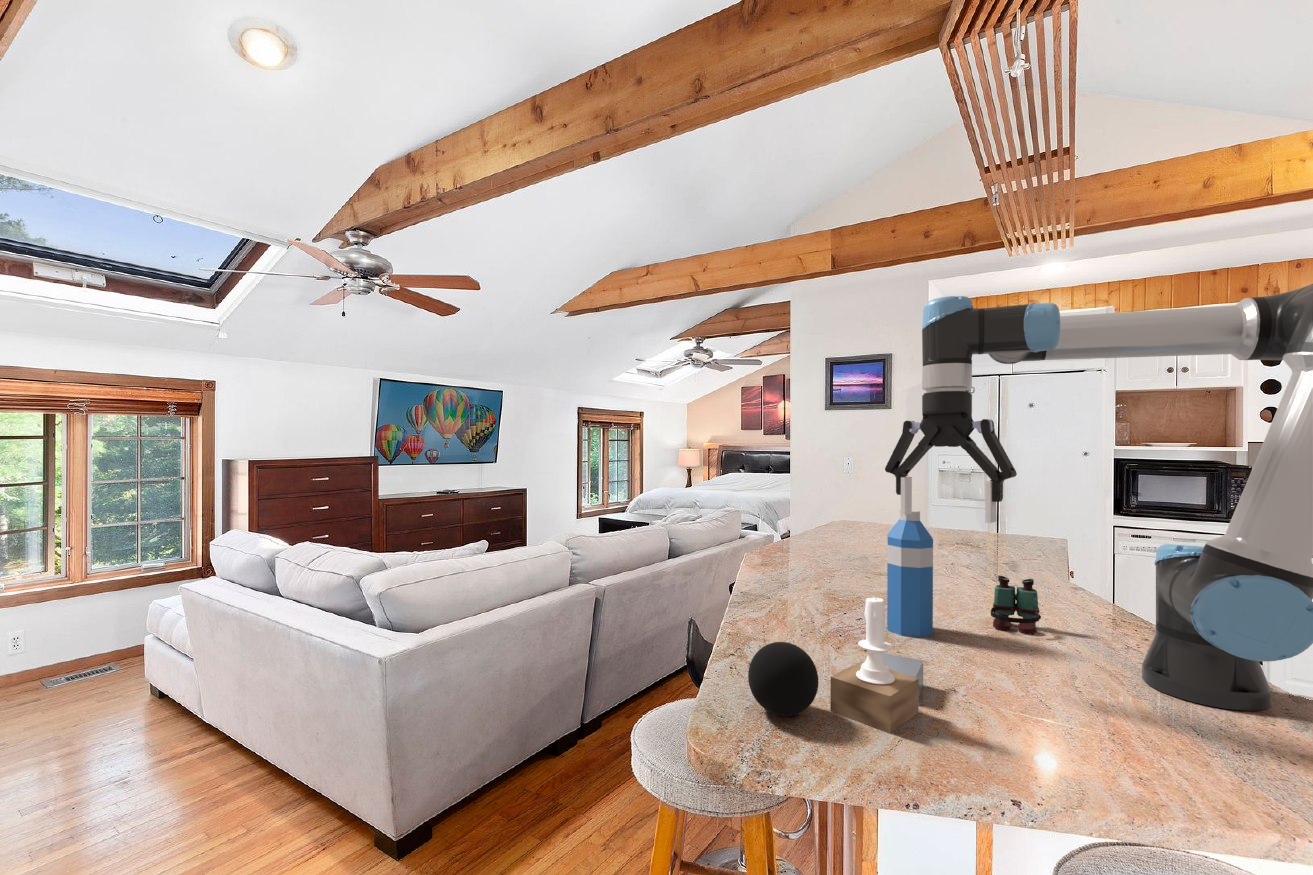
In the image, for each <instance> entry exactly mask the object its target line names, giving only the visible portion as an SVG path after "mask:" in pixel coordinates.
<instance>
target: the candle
mask: <svg viewBox="0 0 1313 875" xmlns="http://www.w3.org/2000/svg"><path fill="white" fill-rule="evenodd" d="M885 605H886V604H885V600H884V599H883V598H881V597H880V598H879V597H877V596H875V595H873V594H872V597H867V598H865V609H864V614H863V615H864V618H865V639H861V640H859V641H858V643H857V644H858V646H859V647H860V648H862V649H864V650H865V651H867V652H868V655H867V657H866V658H865V660H866V661H865V660H864V661H865V663H863V664H862V665H861V670H859V671H857V673H856V676H857V677H858V678H859V679H860V680H862V681H865V682H868V683H872V684H879V685H885V684H891V683H893V682H894V681H895V678H894V676H893V675H891V674H890V670H889V667H888V666H886V664H885V662H884V660H883V657H882V653H888V651H891V650H892V649H893V644H891V643H889V642H887V641H886V640H885V639H886V637H885V636H886V635H885V632H886V630H885V628H886V627H885V626H886V624H885V623H886V620H885V619H886V614H885V613H886V610H885V609H886V608H885Z"/></svg>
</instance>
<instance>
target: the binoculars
mask: <svg viewBox="0 0 1313 875" xmlns="http://www.w3.org/2000/svg"><path fill="white" fill-rule="evenodd" d="M997 576H998V577H997V581H998V582H999V584H997V585H995V586H994V594H993V596H994V597H993V604H992V607H991V609H990V616H991V617H992V618H994V619H993V622H992V627H993V628H995V629H996V630H998V631H1002V632H1008V631H1011V628H1012V623H1015V624H1016V623H1017V630H1018V632H1019V633H1020V634H1023V635H1033V634H1037V625H1036V624H1037V622H1039V621H1040V620H1041V619H1042V616H1041V614H1040V607H1039V597H1038V591H1037V589H1034V588H1033V586H1034V584H1035V582H1034V579H1033V578H1027V579H1023V580H1021V584H1022V585H1023V586H1017V587H1015V586H1014V585H1009V583H1010V579H1009V578H1008V577H1006V576H1005V575H1004V576H1003V575H997ZM1015 612H1016V615H1017V616H1018V617H1011V616H1014V615H1015Z"/></svg>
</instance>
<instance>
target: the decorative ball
mask: <svg viewBox="0 0 1313 875" xmlns="http://www.w3.org/2000/svg"><path fill="white" fill-rule="evenodd" d="M747 677H748V678H747V680H748V685H749V689H750V692H751V694H752V696H753V698H754V699H755V701H756V702H757V703H758V704H759V705H760V706H761V707H762V708H763V709H764V710H766V711H768V712H770V714H773V715H776V716H782V717H793V716H795V715H798V714H800V713H801V714H802V712H804V711H806V710H807V709H808V708H809V707H810V706H811V705H812V703H813V702H814V701H815V699H816V696H817V694H818V690H819V674H818V670H817V667H816V664H815V662H814V661H813V659H812V658H811V656H810V655H809V654H808V653H807V652H806V651H805V650H804V649H803V648H801V647H800V646H797V644H793V643H790V642H787V641H774V642H771V643H768V644H766V645H764V646H763V647H761V648H760V649H758V650H757V652H756V653H755V654H754V656H753V657H752V659H751V661H750V663H749V666H748V672H747Z"/></svg>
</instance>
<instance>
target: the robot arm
mask: <svg viewBox="0 0 1313 875" xmlns="http://www.w3.org/2000/svg"><path fill="white" fill-rule="evenodd" d="M922 310H923V311H922V325H921V326H922V327H921V339H922V340H921V344H922V345H921V347H922V349H921V350H922V353H921V354H922V369H921V370H922V371H921V372H922V374H921V376H922V379H921V380H922V382H921V386H922V387H921V389H922V390H923V391H925V392H924V393H923V394H922V396H921V398H922V399H921V410H922V411H921V414H922V418H921V421H920V422H919V421H918V422H916V421H915V420H905V421H903V424H902V433H901V435H900V436H899V439H898V441H897V443H896V445H895V446H894V449H893V451H892V453H891V456H890V457H889V459H888V461H887V463H886V466H885V467H884V470H885V472H886V473H889V474H892V475H894V476H895V493H896V495H897V496H898V495H899V496H900V510H901V515H907V514H912V510H913V509H912V508H913V505H912V504H913V503H912V502H913V500H912V498H913V496H912V495H913V494H912V491H913V489H912V488H913V484H912V483H913V482H912V481H913V477H912V476H909V473H911V471H912V470H913V469H914V468H915V466H917V464H918V463H919V462H920V461H921V459H923V457H924V456H925V455H926V454H927V453H928V451H929V450H930V449H932V448H935V447H936V448H939V447H940V448H941V447H943V448H944V447H948V448H951V447H952V448H958V447H961V448H962V449H963V450H964V451H965V452H966V453H967V454H968V456H970V457H971V458H972V460H973V461H974V462H975V463H976V464H977V465H978V467H979V468H980V469H981V470H982V471H983V472H984V473H985V474H986V475H987V477H988V478H989V479H990V480H988V481H984V482H985V484H984V486H985V488H984V490H985V492H984V494H985V496H984V498H985V500H984V501H985V502H984V504H985V505H984V506H985V507H984V511H985V512H984V513H985V515H984V517H985V518H984V519H985V521H984V522H985V524H992V523H995V522H997V503H999V502H1002V501H1003V499H1004V481H1005V480H1008V479H1012V478H1015V477H1016V476H1017V473H1018V472H1017V471H1016V470H1017V469H1015V467H1014V465H1013V463H1012V461H1011V460H1010V458H1009V455H1008V454H1007V452H1006V451H1005V449H1004V447H1003V445H1002V443H1001V441H1000V439H999V438H998V436H997V434H996V432H995V431H996V430H995V422H994V420H992V419H990V418H989V419H988V418H987V419H986V418H982V419H981V420H977V421H976V420H975V421H974V420H973V416H972V414H973V393H971V391H968V390H970V389H972V388H973V387H972V386H973V355H989V357H990V358H991V359H992V360H994V361H995V362H996V363H1000V364H1003V365H1012V364H1013V365H1014V364H1015V365H1016V364H1018V363H1020V362H1021V363H1022V362H1037V361H1061V360H1063V361H1064V360H1066V361H1067V360H1088V359H1094V360H1096V359H1120V358H1153V357H1155V358H1156V357H1157V358H1158V357H1182V356H1186V357H1187V356H1188V357H1189V356H1211V355H1212V356H1215V355H1216V356H1217V355H1232V356H1233V357H1234V358H1236V359H1237V360H1238V361H1284V362H1285V364H1286V365H1287V366H1288V368H1290V370H1291V375H1290V378H1289V380H1288V383H1287V385H1286V388H1285V390H1284V393H1283V394H1282V398H1281V400H1280V402H1279V405H1278V407H1277V409H1276V410H1275V411H1276V412H1275V414H1274V417H1273V419H1272V421H1271V424H1270V426H1269V428H1268V430H1267V433H1266V436H1265V438H1264V440H1263V443H1262V445H1261V447H1260V449H1259V453H1258V454H1257V457H1256V460H1255V462H1254V464H1253V467H1252V469H1251V471H1250V474H1249V476H1248V479H1247V481H1246V484H1245V485H1244V488H1243V491H1242V493H1241V495H1240V498H1239V500H1238V502H1237V505H1236V508H1235V510H1234V512H1233V515H1232V517H1231V519H1230V521H1229V524H1228V526H1227V529H1226V531H1225V533H1224V534H1223V535H1221V536H1219V537H1216V538H1213V539H1210V540H1207V541H1205V544H1204V546H1197V545H1187V544H1186V545H1184V544H1167V543H1166V544H1162V545H1160V546H1158V547H1157V549H1156V557H1155V560H1154V566H1155V635H1154V637H1153V639H1152V641H1151V644H1150V646H1149V648H1148V651H1147V653H1146V655H1145V657H1144V659H1143V661H1142V665H1141V678H1142V680H1143V681H1144V683H1146V684H1147V685H1149V686H1150V687H1152V688H1154V689H1155V690H1157V691H1160V692H1162V693H1163V694H1167V695H1170V696H1172V697H1175V698H1178V699H1181V700H1185V701H1188V702H1190V703H1191V702H1192V703H1196V704H1201V705H1204V706H1209V707H1213V708H1214V707H1215V708H1218V709H1219V708H1221V709H1227V710H1234V711H1246V712H1247V711H1248V712H1249V711H1250V712H1251V711H1254V712H1255V711H1263V710H1267V709H1269V708H1270V707H1271V706H1272V690H1271V687H1270V685H1269V683H1268V679H1267V677H1266V675H1265V673H1264V670H1263V668H1262V665H1261V663H1260V662H1276V661H1282V660H1287V659H1291V658H1294V657H1296V656H1298V655H1300V654H1302V653H1303V652H1305V651H1306V650H1307V649H1309V648H1310V647H1311V646H1312V645H1313V560H1312V558H1313V283H1311V284H1308V285H1306V286H1303V287H1300V288H1297V289H1294V290H1290V291H1287V292H1281V293H1277V294H1272V295H1265V296H1257V297H1256V296H1255V297H1244V298H1243V299H1241V300H1240V301H1239V302H1238V303H1236V304H1235V305H1220V306H1219V305H1218V306H1205V307H1203V306H1202V307H1187V308H1174V309H1173V308H1171V309H1157V310H1142V311H1124V312H1123V311H1122V312H1110V313H1108V312H1107V313H1092V314H1077V315H1075V314H1074V315H1062V316H1061V312H1060V309H1059V306H1058V305H1057V304H1055V303H1052V302H1045V303H1044V302H1041V303H1040V302H1039V303H1036V302H1030V303H1026V304H1016V305H1005V306H1003V305H1002V306H995V307H985V308H982V307H981V308H979V307H974V305H973V300H972V298H970V297H969V296H964V295H959V296H958V295H957V296H955V295H951V296H950V295H949V296H941V297H936V298H933V299H931V300H929V301H927V302H926V303H925V305H924V307H923V309H922ZM975 429H976V431H977V432H978V434H981V435H982V438H983V440H984V442H985V444H986V446H987V448H988V449H989V451H990V453H991V455H992V456H993V459H994V461H995V462H996V464H997V466H998V467H997V466H996V465H995V464H994V463H993V462H992V461H991V460H990V459H989V457H988V456H987V455H986V454H985V453H984V452H983V451H982V450H981V449H980V447H979V446H978V445H977V443H976V442H975V441H974V440H973V439H972V438H971V436H970V435H971V434H972V433H973V431H974V430H975ZM919 430H920V431H921V433H922V434H923V435H924V436H923V437H922V438H921V440H920V441H919V442H918V444H917V445H916V446H915V448H914V449H913V450H912V451H911V452H910V454H908V456H907V457H906V458H904V457H905V455H906V454H907V452H908V450H909V449H910V445H912V444H911V443H912V442H913V440H914V437H915V434H918V432H919ZM904 459H905V460H904ZM999 469H1000V470H999Z"/></svg>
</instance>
